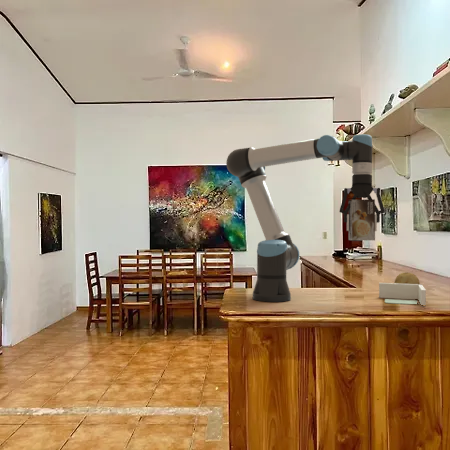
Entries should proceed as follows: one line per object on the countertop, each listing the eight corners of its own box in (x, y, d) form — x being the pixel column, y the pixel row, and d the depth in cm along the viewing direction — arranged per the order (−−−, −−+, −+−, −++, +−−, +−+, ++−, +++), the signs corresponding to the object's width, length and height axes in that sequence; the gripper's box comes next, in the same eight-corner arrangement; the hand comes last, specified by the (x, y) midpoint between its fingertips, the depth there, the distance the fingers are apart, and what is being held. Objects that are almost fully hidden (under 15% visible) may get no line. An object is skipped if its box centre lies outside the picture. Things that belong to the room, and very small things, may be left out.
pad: (385, 303, 185) (385, 302, 185) (384, 299, 194) (384, 298, 194) (418, 304, 182) (418, 304, 182) (416, 301, 190) (416, 300, 190)
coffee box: (370, 240, 193) (371, 200, 193) (375, 240, 187) (375, 199, 187) (347, 239, 194) (348, 199, 194) (351, 240, 187) (352, 199, 187)
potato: (417, 294, 211) (417, 271, 211) (421, 298, 199) (422, 274, 198) (392, 293, 213) (392, 270, 213) (395, 297, 201) (395, 273, 201)
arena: (378, 303, 184) (378, 288, 184) (378, 297, 201) (379, 282, 201) (425, 306, 178) (425, 290, 178) (421, 299, 196) (421, 284, 196)
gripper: (333, 173, 189) (332, 230, 189) (393, 173, 184) (392, 231, 184) (333, 175, 196) (332, 230, 196) (390, 175, 192) (390, 231, 192)
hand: (361, 230), depth 190 cm, fingers closed on coffee box, 10 cm apart
